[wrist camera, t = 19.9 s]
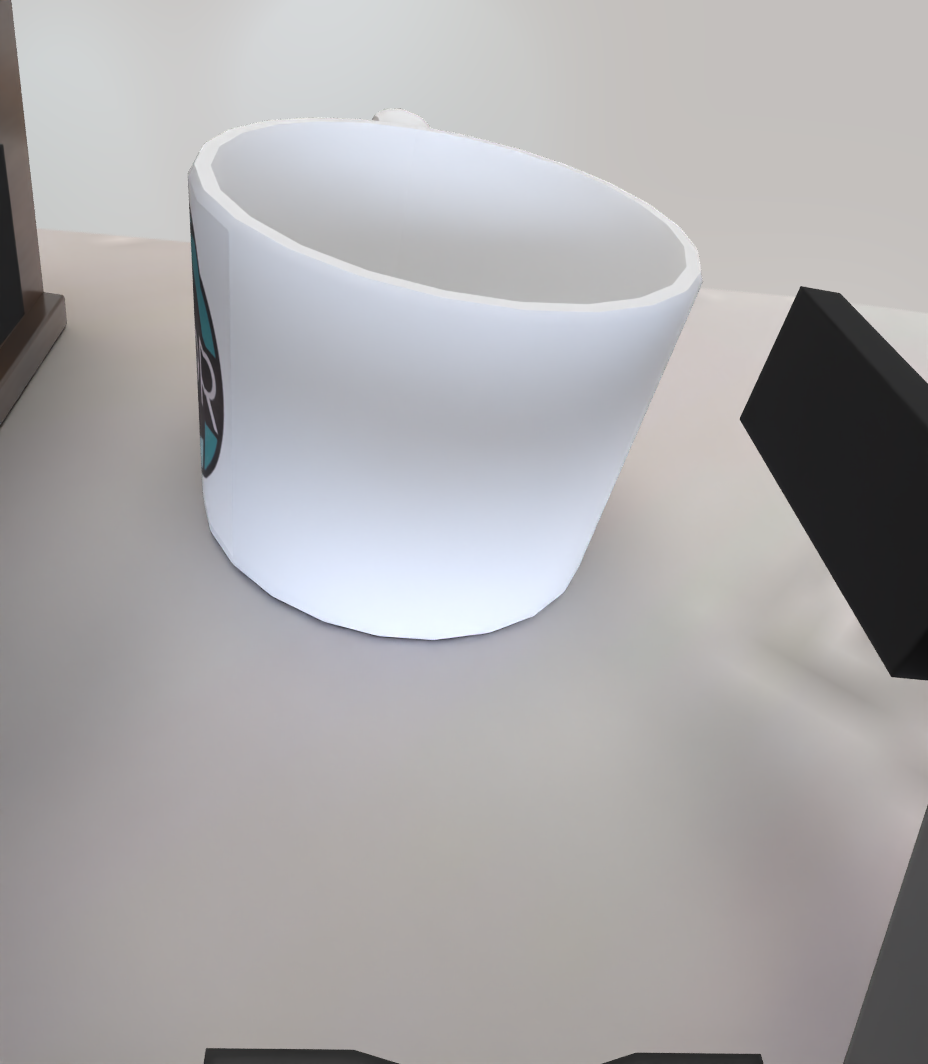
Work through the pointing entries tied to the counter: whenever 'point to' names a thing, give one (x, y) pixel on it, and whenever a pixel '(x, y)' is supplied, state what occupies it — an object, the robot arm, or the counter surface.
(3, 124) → the wall board
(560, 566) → the mug
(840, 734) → the counter surface
